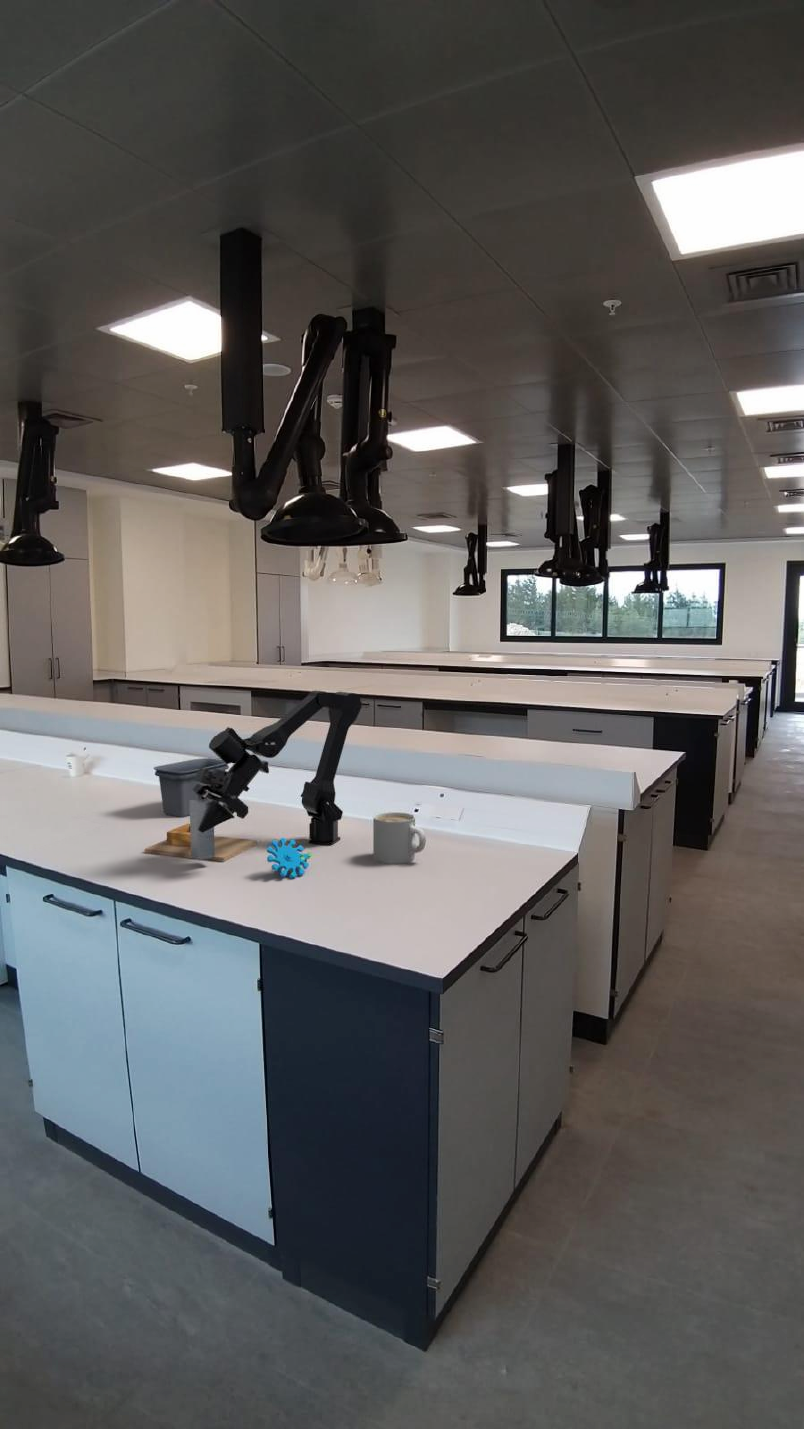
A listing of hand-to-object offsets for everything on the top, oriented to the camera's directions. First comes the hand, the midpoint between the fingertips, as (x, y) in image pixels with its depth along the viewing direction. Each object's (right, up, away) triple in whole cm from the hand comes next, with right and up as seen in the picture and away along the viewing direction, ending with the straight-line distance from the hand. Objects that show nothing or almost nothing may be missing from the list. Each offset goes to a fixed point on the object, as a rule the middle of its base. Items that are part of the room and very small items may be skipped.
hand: (196, 829), depth 172 cm
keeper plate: (-3, -7, +16) cm, 17 cm away
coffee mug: (+46, -8, +8) cm, 48 cm away
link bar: (+1, -6, +2) cm, 7 cm away
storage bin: (-17, -3, +56) cm, 58 cm away
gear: (+22, -10, -3) cm, 24 cm away
